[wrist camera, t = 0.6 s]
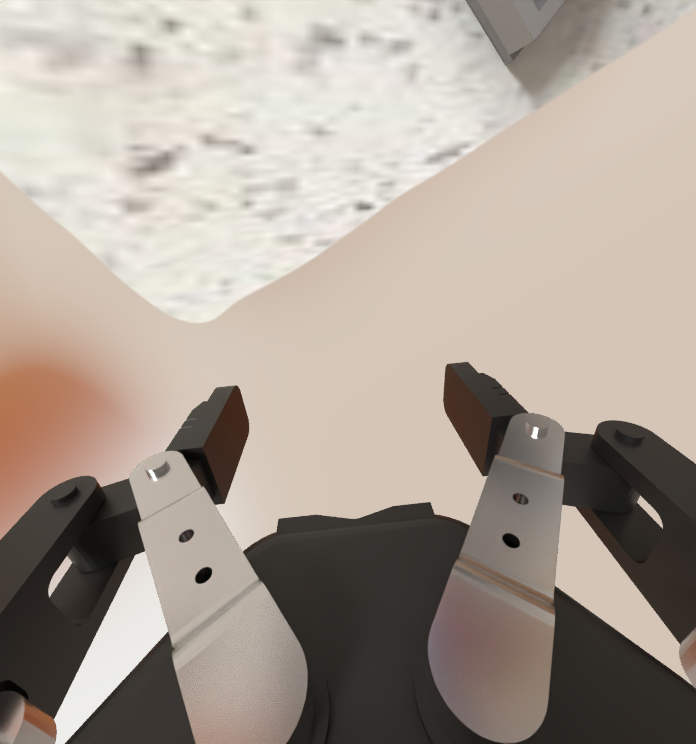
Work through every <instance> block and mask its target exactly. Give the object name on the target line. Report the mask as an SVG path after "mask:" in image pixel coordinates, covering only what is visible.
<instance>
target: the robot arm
mask: <svg viewBox="0 0 696 744" xmlns="http://www.w3.org/2000/svg"><path fill="white" fill-rule="evenodd" d="M443 401H444V408H445V412H446V414H447V416H448V417H449V419H450V421H451V423H452V424H453V426H454V428H455V430H456V431H457V433H458V435H459V436H460V438H461V440H462V441H463V443H464V445H465V447H466V448H467V450H468V452H469V453H470V455H471V457H472V459H473V460H474V462H475V464H476V465H477V467H478V469H479V471H480V472H481V474H482V476H488V477H487V479H486V482H485V485H484V488H483V491H482V494H481V496H480V499H479V502H478V505H477V508H476V510H475V513H474V516H473V519H472V522H471V524H470V526H469V525H467V524H465V523H463V522H461V521H459V520H456V519H452V518H450V517H445V516H441V515H435V514H434V512H433V509H432V506H431V503H430V502H428V503H418V504H409V505H400V506H392V507H390V508H387V509H384V510H381V511H379V512H375V513H373V514H370V515H367V516H364V517H361V518H358V519H347V518H338V517H329V516H322V515H310V516H300V517H292V518H282V519H279V520H278V526H277V532H276V533H273V534H270V535H268V536H266V537H264V538H262V539H260V540H259V541H257V542H255V543H254V544H252V545H251V546H250V547H248V548H247V549H245V550H244V551H243V552H242V550H241V548H240V547H239V545H238V543H237V541H236V540H235V538H234V536H233V535H232V533H231V531H230V530H229V528H228V526H227V525H226V523H225V521H224V520H223V518H222V516H221V515H220V513H219V511H218V510H217V508H216V506H215V505H217V504H224V503H225V501H226V498H227V495H228V492H229V489H230V486H231V483H232V480H233V478H234V475H235V472H236V469H237V466H238V463H239V460H240V457H241V455H242V452H243V449H244V446H245V443H246V440H247V437H248V433H249V420H248V416H247V413H246V409H245V406H244V403H243V399H242V395H241V392H240V389H239V387H238V386H227V387H217V388H216V389H215V390H214V392H213V393H212V395H211V396H210V398H209V400H208V401H205V402H202V403H201V404H200V405H198V406H197V407H196V408H195V409H193V410H192V412H191V413H190V415H189V416H188V418H187V421H185V422H184V423H183V425H182V428H181V429H179V431H178V433H177V434H176V435H175V437H174V438H173V440H172V441H171V443H170V445H169V446H168V447H167V449H166V450H165V452H161V453H158V454H155V455H153V456H151V457H149V458H147V459H145V460H144V461H142V462H141V463H140V464H138V465H137V466H136V467H135V468H134V469H133V471H132V472H131V474H130V477H129V479H126V480H123V481H120V482H117V483H113V484H110V485H107V486H104V487H100V485H99V483H98V482H97V480H96V479H95V478H94V477H91V476H81V477H76V478H73V479H70V480H67V481H65V482H63V483H61V484H59V485H57V486H55V487H53V488H52V489H51V490H49V491H47V492H46V493H45V494H44V495H42V496H41V497H40V498H39V499H38V500H37V501H36V502H35V503H34V504H33V505H32V507H31V508H30V509H29V510H28V511H27V512H26V513H25V514H24V515H23V516H22V517H21V518H20V519H19V521H18V522H17V523H16V524H15V525H14V526H13V527H12V528H11V529H10V530H9V532H8V533H7V534H6V535H5V536H4V537H3V538H2V539H1V540H0V744H55V742H56V734H57V730H56V724H55V721H54V718H55V716H56V714H57V712H58V710H59V708H60V706H61V704H62V702H63V700H64V698H65V696H66V694H67V692H68V690H69V688H70V686H71V684H72V681H73V680H74V678H75V676H76V673H77V672H78V670H79V667H80V665H81V663H82V661H83V659H84V657H85V655H86V653H87V651H88V649H89V647H90V645H91V643H92V641H93V639H94V637H95V635H96V633H97V631H98V629H99V627H100V625H101V623H102V621H103V619H104V617H105V615H106V613H107V611H108V609H109V607H110V605H111V603H112V601H113V599H114V597H115V595H116V593H117V591H118V588H119V587H120V584H121V582H122V581H123V578H124V576H125V574H126V572H127V570H128V568H129V566H130V564H131V562H132V560H133V558H134V556H135V555H136V554H139V553H141V552H144V551H146V555H147V558H148V562H149V565H150V569H151V572H152V576H153V579H154V583H155V586H156V590H157V593H158V597H159V600H160V604H161V607H162V610H163V614H164V617H165V621H166V624H167V628H168V632H167V633H166V634H165V636H164V637H163V638H162V639H161V640H160V641H159V642H158V643H157V644H156V645H155V646H154V647H153V649H152V650H151V651H150V652H149V653H148V654H147V655H146V656H145V657H144V658H143V660H142V661H141V662H140V663H139V664H138V665H137V666H136V667H135V668H134V669H133V670H132V672H130V674H129V675H128V676H127V677H126V678H125V679H124V680H123V681H122V682H121V683H120V684H119V686H118V687H117V688H116V689H115V690H114V691H113V692H112V693H111V694H110V695H109V696H108V697H107V699H106V700H105V701H104V702H103V703H102V704H101V705H100V706H99V707H98V708H97V709H96V710H95V712H94V713H93V714H92V715H91V716H90V717H89V718H88V719H87V720H86V721H85V722H84V723H83V725H82V726H81V727H80V728H79V729H78V730H77V731H76V732H75V733H74V735H72V736H71V738H70V739H69V740H68V741H67V742H66V743H65V744H696V464H695V463H694V462H692V461H691V460H690V459H688V458H687V457H685V456H684V455H683V454H682V453H680V452H679V451H677V450H676V449H675V448H673V447H672V446H671V445H669V444H668V443H667V442H665V441H664V440H663V439H661V438H660V437H658V436H657V435H655V434H654V433H653V432H651V431H649V430H647V429H645V428H643V427H641V426H638V425H636V424H632V423H628V422H623V421H614V420H613V421H604V422H601V423H600V424H598V426H597V428H596V431H595V434H594V435H591V434H581V433H571V432H565V431H564V429H563V427H562V426H561V425H560V424H559V423H558V422H556V421H555V420H553V419H551V418H549V417H546V416H543V415H540V414H534V413H528V412H527V411H526V410H525V409H524V408H523V407H522V406H521V405H520V404H519V403H518V402H517V401H516V400H515V399H514V398H513V397H512V396H511V395H509V393H508V392H507V391H506V390H505V389H504V388H502V386H501V385H500V384H499V383H498V382H497V381H496V380H495V379H494V378H492V377H490V376H488V375H486V374H484V373H478V372H477V371H476V370H475V369H474V368H473V367H472V366H471V365H470V364H469V363H468V362H463V363H454V364H447V366H446V370H445V383H444V398H443ZM640 495H641V496H642V497H643V498H644V499H645V500H646V501H647V502H648V503H649V504H650V505H651V506H652V507H653V508H654V509H655V510H656V512H657V513H658V514H659V516H660V518H661V520H662V523H663V529H662V528H661V527H660V526H659V525H658V524H657V523H656V522H655V521H654V520H653V518H652V517H650V515H649V514H648V513H647V512H646V511H645V510H644V509H643V508H642V507H641V506H640V505H639V504H638V503H637V501H638V499H639V497H640ZM562 505H568V506H574V507H576V508H577V509H578V511H579V512H580V513H581V515H582V516H583V517H584V518H585V520H586V521H587V522H588V523H589V525H590V526H591V528H592V529H593V530H594V532H595V533H596V534H597V536H598V537H599V538H600V539H601V541H602V542H603V543H604V545H605V546H606V547H607V548H608V550H609V551H610V552H611V554H612V555H613V557H614V558H615V559H616V561H617V562H618V563H619V564H620V566H621V567H622V568H623V570H624V571H625V572H626V573H627V575H628V576H629V578H630V579H631V580H632V581H633V583H634V584H635V585H636V586H637V588H638V589H639V591H640V592H641V593H642V595H643V596H644V597H645V599H646V600H647V601H648V602H649V604H650V605H651V607H652V608H653V609H654V610H655V612H656V613H657V614H658V615H659V617H660V618H661V620H662V621H663V622H664V624H665V625H666V626H667V627H668V629H669V630H670V631H671V633H672V634H673V635H674V637H675V638H676V639H677V641H678V642H679V643H680V649H679V655H680V660H681V663H682V666H683V668H684V671H685V673H686V675H687V676H688V678H689V680H690V681H691V683H692V685H691V684H689V683H688V682H687V681H686V680H684V679H683V678H682V677H680V676H679V675H678V674H676V673H675V672H673V671H672V670H671V669H669V668H668V667H667V666H665V665H663V664H662V663H661V662H660V661H658V660H657V659H655V658H654V657H653V656H651V655H650V654H649V653H647V652H645V651H644V650H643V649H642V648H640V647H639V646H638V645H636V644H635V643H633V642H632V641H631V640H629V639H628V638H626V637H625V636H624V635H622V634H621V633H619V632H618V631H617V630H615V629H614V628H613V627H611V626H610V625H608V624H607V623H605V622H604V621H603V620H602V619H600V618H599V617H597V616H596V615H594V614H593V613H592V612H590V611H589V610H588V609H586V608H585V607H584V606H582V605H581V604H579V603H578V602H577V601H575V600H574V599H572V598H571V597H570V596H568V595H567V594H565V593H564V592H563V591H561V590H560V589H559V588H557V587H556V586H555V576H556V565H557V564H556V563H557V554H558V542H559V532H560V520H561V510H562ZM66 556H68V557H69V559H70V560H71V561H72V562H73V563H72V564H71V566H70V567H69V569H68V570H67V572H66V573H65V575H64V576H63V578H62V579H61V581H60V582H59V584H58V585H57V587H56V589H55V590H54V592H53V593H52V595H51V596H50V598H49V595H48V588H49V584H50V581H51V579H52V577H53V575H54V573H55V572H56V570H57V569H58V568H59V566H60V565H61V563H62V562H63V560H64V559H65V558H66Z"/></svg>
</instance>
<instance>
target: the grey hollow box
mask: <svg viewBox="0 0 696 744" xmlns="http://www.w3.org/2000/svg"><path fill="white" fill-rule="evenodd" d="M466 1H467V2H468V4H469V6H470V7H471V9H472V10H473V12H474V14H475V15H476V17H477V19H478V20H479V22H480V24H481V25H482V27H483V29H484V30H485V32H486V34H487V35H488V37H489V38H490V40H491V42H492V43H493V45H494V47H495V48H496V50H497V52H498V53H499V55H500V57H501V58H502V60H503V61H504V63H505V65H506V64H508V63H510V62H512V61H513V60H514V59H515V57H516V56H517V55H518V53H519V52H520V51H521V50H522V48H523V47H524V46H526V45H528V44H529V43H531V42H533V41H534V40H535V39H536V38H537V37H538V35H539V34H540V33H541V31H542V30H543V29H544V28H545V26H546V25H547V24H548V22H549V21H550V20H551V18H552V17H553V16H554V15H555V13H556V12H557V11H558V9H559V8H560V7H561V6H562V4H563V3H564V2H565V0H466Z"/></svg>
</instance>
